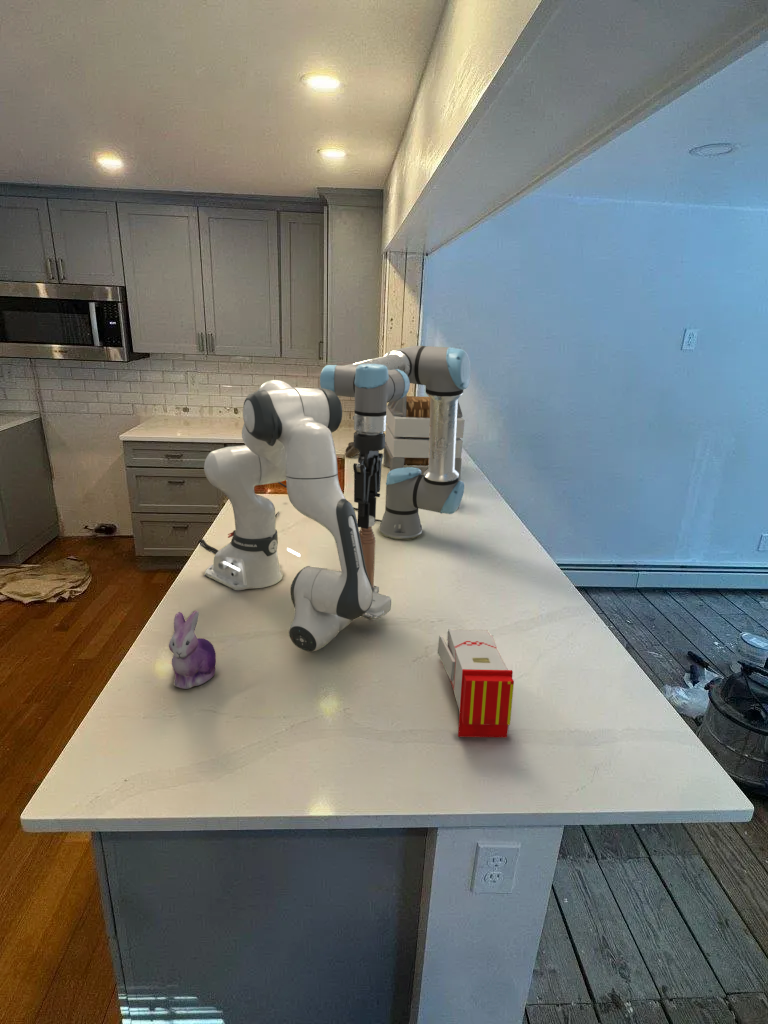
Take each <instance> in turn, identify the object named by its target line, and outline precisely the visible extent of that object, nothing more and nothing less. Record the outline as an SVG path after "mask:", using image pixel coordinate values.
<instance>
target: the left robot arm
mask: <svg viewBox="0 0 768 1024" xmlns="http://www.w3.org/2000/svg"><path fill="white" fill-rule="evenodd" d="M242 420H243V424H242V429H241V438H242V442H243V443H244V444H242V445H235V446H233V445H232V446H225V447H222V448H218V449H215V450H212V451H210V452H208V454H207V456H206V457H205V460H204V464H203V471H204V476H205V478H206V479H207V481H208V483H210V485H211V486H213V487H214V488H215V489H218V490H219V491H221V492H222V493H223V494H224V495H225V497H226V498H227V499H228V500H229V503H230V504H231V507H232V512H233V516H234V517H233V519H234V527H235V528H234V530H233V531H232V532H230V533H228V534H227V538H231V539H230V540H231V541H230V542H229V543H227V544H226V545H225V546H223V547H222V548H220V549H219V550H218V549H217V548H215V547H213V546H211V545H209V544H208V543H206V541H205V540H204V539H202V538H201V539H199V540H198V541H197V543H198V544H201V543H202V545H203V546H204V547H205V548H207V549H209V550H210V551H212V552H215V554H214V556H213V559H212V560H213V561H212V564H210V565H209V566H208V567H207V568H206V570H205V571H204V575H205V577H208V578H210V579H212V580H215V581H216V582H218V583H220V584H221V585H224V586H226V587H228V588H230V589H233V590H234V591H243V590H248V589H263V588H268V587H271V586H274V585H276V584H278V583H279V582H280V581H281V580H283V576H284V574H283V571H282V569H281V565H280V560H279V554H278V544H279V541H278V540H279V537H278V529H277V526H276V524H277V523H276V521H277V519H276V518H277V517H276V518H275V515H276V507H275V504H274V503H273V501H271V500H270V499H269V498H268V497H265V496H263V495H260V494H257V493H256V492H255V487H256V486H262V485H269V484H270V485H271V484H279V483H278V482H280V483H283V482H286V484H285V486H287V488H286V493H287V497H288V499H289V502H290V503H291V506H292V507H294V508H295V510H296V511H298V512H299V513H300V514H302V515H303V516H305V517H306V518H309V519H310V520H312V521H315V522H316V523H318V524H319V525H320V526H322V527H324V528H325V529H326V530H327V531H328V532H329V533H330V534H331V535H332V537H333V539H334V541H335V544H336V550H337V555H338V556H337V557H338V561H339V566H340V570H336V569H330V568H325V567H319V566H311V565H307V566H305V567H303V568H302V569H300V570H299V571H298V572H297V573H296V575H295V576H294V578H293V580H292V581H291V584H290V590H289V591H290V599H291V602H292V606H293V608H294V613H293V618H292V621H291V622H290V626H289V628H288V636H289V639H290V641H291V642H292V643H293V645H295V646H296V647H297V648H298V649H300V650H301V651H304V652H308V653H309V652H310V653H312V652H316V651H318V650H321V649H322V648H324V647H325V646H326V645H328V644H329V643H330V642H332V640H334V639H335V638H336V636H337V635H338V634H339V632H341V631H343V630H345V628H347V627H348V626H349V625H350V624H351V623H352V622H353V621H354V620H357V619H359V618H360V617H361V618H364V619H368V620H372V621H376V620H379V619H381V618H383V617H384V616H386V615H387V614H388V613H389V612H391V610H392V598H391V597H390V596H389V595H386V594H382V593H379V592H380V587H379V586H377V585H374V586H373V587H372V585H371V582H370V579H369V577H368V574H367V570H366V566H365V561H364V555H363V550H362V545H361V539H360V534H359V531H360V528H359V527H358V518H357V514H356V512H355V511H356V510H355V509H354V508H355V507H354V506H353V504H352V503H351V502H350V501H348V500H347V498H346V496H345V494H344V493H343V490H342V489H341V485H340V481H339V471H338V470H339V469H338V468H339V467H338V458H337V452H336V446H335V440H334V438H333V437H334V436H333V434H332V433H334V432H337V430H338V429H339V427H340V425H341V423H342V420H343V406H342V402H341V399H340V398H339V396H337V395H336V394H335V392H333V391H331V390H328V389H324V388H321V387H316V388H313V387H292V385H290V383H287V382H285V381H283V380H280V379H271V380H267V381H265V382H263V383H262V384H261V385H260V386H259V388H258V389H257V391H254V392H250V393H249V394H248V395H247V396H246V398H245V399H244V402H243V408H242ZM353 507H354V508H353ZM286 551H287V552H289V553H291V554H292V555H295V556H296V557H299V558H301V554H300V553H299V552H297V551H295V550H293V549H292V548H289V547H287V548H286Z"/></svg>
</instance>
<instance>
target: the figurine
mask: <svg viewBox="0 0 768 1024" xmlns="http://www.w3.org/2000/svg"><path fill="white" fill-rule="evenodd" d="M199 616H200V615H199V611H198V610H194V611H192V612H191V614H189V616H188V618H187V619H185V615H184V614H183V612H181V611H178V612H177V613H175V615H174V618H173V629H174V631H173V634H172V636H171V638H170V639H169V642H168V649H169V650H170V652H171V653H172V654H173V655H172V658H171V666H172V669H173V672H174V681H173V685H174V686H175V687H176V688H179V689H183V690H185V689H192V688H193V687H198V686H201V685H203V684H205V683H207V682H209V681H210V680H211V679H212V678H214V676H215V674H216V666H217V665H216V664H217V652H216V649H215V647H214V645H213V643H212V642H211V641H210V640H208V639H206V638H201V637H197V634H196V632H195V631H196V629H197V624H198V621H199Z"/></svg>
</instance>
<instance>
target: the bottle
mask: <svg viewBox="0 0 768 1024" xmlns="http://www.w3.org/2000/svg"><path fill="white" fill-rule="evenodd" d="M359 534H360V539H361V545H362V550H363V555H364V561H365V566H366V570H367V574H368V577H369V579H370V582H371V585H372V587H373V586H375V564H376V563H375V562H376V541H377V540H376V537H375V533H374V531H373V526H371V527H369V528H368V529H366V528H360V527H359Z"/></svg>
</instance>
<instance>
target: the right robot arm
mask: <svg viewBox="0 0 768 1024" xmlns="http://www.w3.org/2000/svg"><path fill="white" fill-rule="evenodd" d="M471 377H472V366H471V360H470V357H469V355H468V353H467V352H466V351H465V350H464V349H462V348H457V347H452V346H451V347H449V346H434V345H433V346H429V345H411V346H406V347H401V348H396V349H393V350H389V351H388V352H386V353H385V354H384V355H383V356H379V357H375V358H371V359H367V360H362V361H358V362H355V363H350V364H349V363H348V364H345V365H338V364H326V365H324V367H323V368H322V369H321V371H320V375H319V385H320V388H324V389H328V390H331V391H333V392H335V394H336V395H337V396H338V397H346V398H354V410H353V411H354V413H353V416H352V420H353V430H354V433H353V441H352V442H353V446H354V448H356V449H358V450H359V451H360V452H359V453H358V458H357V463H353V465H352V467H353V485H354V486H353V502H354V503H357V507H354V506H353V508H354V511H357V524H358V528H359V529H360V528H366V529H368V528H369V515H370V516H373V517H374V518H375V522H379V526H378V533H379V534H380V535H381V536H382V537H385V538H387V539H389V540H395V541H410V540H415V539H418V538H420V537H421V536H422V535H423V525H422V524H421V518H420V515H419V510H423V511H428V512H434V513H440V514H446V515H453V514H454V513H456V512H457V510H458V509H459V508H460V505H461V502H462V500H463V496H464V493H465V492H464V491H465V482H464V481H462V480H461V479H460V481H459V473H458V472H457V471H456V470H455V450H456V429H457V408H458V402H459V398H460V397H461V396H462V395H463V394H464V390H467V388H469V386H470V383H471ZM411 384H413V385H418V386H419V385H420V386H425V394H426V395H427V397H430V430H429V465H428V467H427V469H426V470H424V472H423V474H422V470H421V468H419V467H416V466H406V467H405V466H404V468H397V469H393V470H391V471H390V470H389V471H388V473H387V475H386V480H385V481H386V482H385V504H384V505H385V507H384V508H385V509H384V513H383V515H382V519H376V514H377V498H380V497H381V493H380V492H381V480H382V463H383V459H384V453H382V452H380V451H384V448H385V442H386V441H385V438H386V426H387V423H386V412H387V405H388V403H389V402H392V401H396V400H399V399H400V398H403V397H404V396H405V395H406V394H408V393H409V390H410V388H411V387H410V386H411ZM277 484H279V485H280V486H283V488H286V489H287V486H286V484H283V482H278V483H277Z"/></svg>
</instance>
